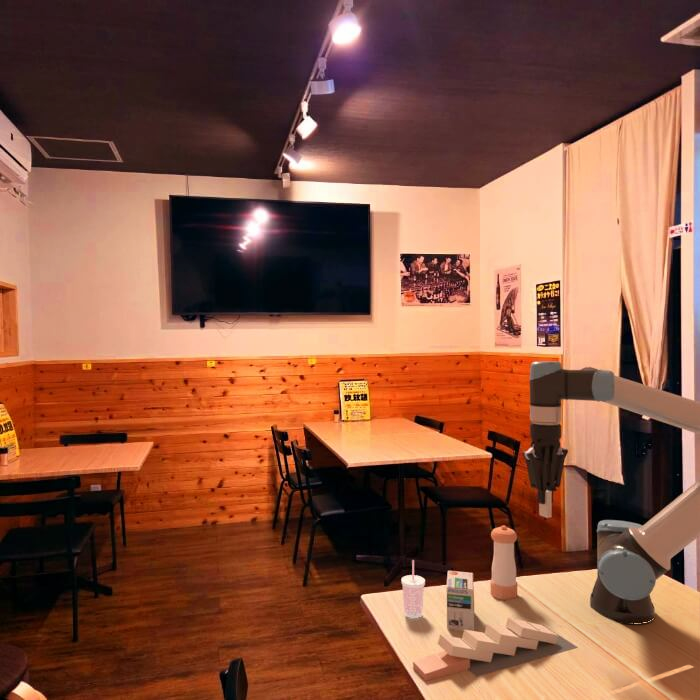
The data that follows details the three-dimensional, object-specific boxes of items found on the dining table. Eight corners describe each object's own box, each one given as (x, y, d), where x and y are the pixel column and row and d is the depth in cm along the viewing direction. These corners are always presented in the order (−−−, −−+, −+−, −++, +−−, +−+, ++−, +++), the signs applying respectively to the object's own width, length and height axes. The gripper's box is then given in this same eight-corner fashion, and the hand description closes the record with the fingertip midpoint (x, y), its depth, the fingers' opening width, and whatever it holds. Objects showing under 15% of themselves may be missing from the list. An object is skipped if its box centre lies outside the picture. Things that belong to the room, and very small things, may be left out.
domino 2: (479, 641, 125) (440, 634, 121) (493, 652, 120) (453, 645, 116) (476, 651, 125) (437, 643, 121) (490, 662, 120) (450, 655, 116)
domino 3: (523, 630, 130) (487, 623, 126) (538, 640, 125) (501, 634, 121) (521, 639, 130) (484, 633, 126) (536, 649, 125) (498, 644, 121)
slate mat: (543, 627, 136) (543, 625, 136) (577, 649, 126) (577, 647, 126) (446, 652, 125) (446, 649, 125) (476, 679, 115) (476, 676, 115)
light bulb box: (474, 634, 133) (474, 589, 133) (446, 631, 134) (446, 587, 134) (473, 613, 144) (473, 571, 144) (447, 610, 145) (447, 569, 145)
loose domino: (502, 635, 128) (464, 629, 123) (516, 646, 123) (478, 640, 119) (499, 644, 127) (461, 638, 123) (514, 656, 123) (475, 650, 118)
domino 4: (542, 625, 132) (508, 617, 128) (558, 635, 128) (523, 627, 124) (540, 634, 132) (505, 626, 128) (555, 644, 127) (520, 636, 123)
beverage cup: (398, 617, 141) (398, 563, 141) (405, 607, 147) (405, 554, 147) (421, 622, 139) (421, 566, 139) (427, 611, 144) (427, 558, 144)
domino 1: (456, 646, 122) (412, 661, 118) (469, 658, 118) (425, 673, 114) (456, 656, 123) (413, 670, 118) (470, 668, 118) (425, 683, 114)
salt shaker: (519, 591, 156) (519, 523, 156) (515, 602, 150) (515, 531, 149) (493, 586, 159) (493, 520, 159) (488, 597, 153) (488, 528, 152)
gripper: (554, 419, 145) (554, 509, 146) (514, 422, 140) (514, 515, 140) (576, 423, 138) (576, 517, 139) (535, 426, 133) (535, 523, 133)
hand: (545, 516), depth 139 cm, fingers closed
